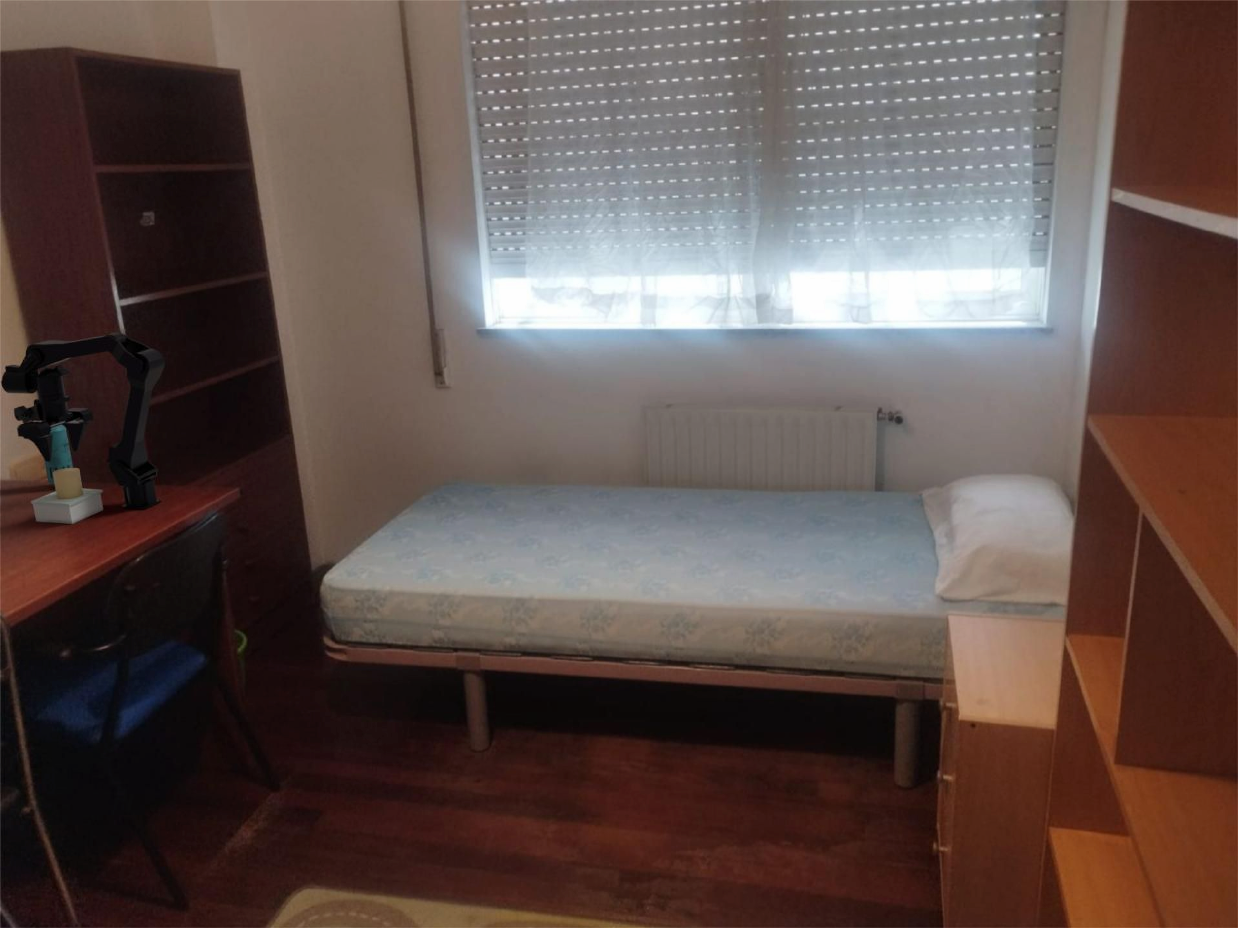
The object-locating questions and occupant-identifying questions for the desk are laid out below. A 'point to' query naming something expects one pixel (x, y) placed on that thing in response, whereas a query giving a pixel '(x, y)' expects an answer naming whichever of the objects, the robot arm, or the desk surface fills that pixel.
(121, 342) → the robot arm
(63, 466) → the beverage bottle
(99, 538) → the desk surface
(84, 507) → the storage box
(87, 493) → the box lid
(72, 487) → the beige rounded cylinder
